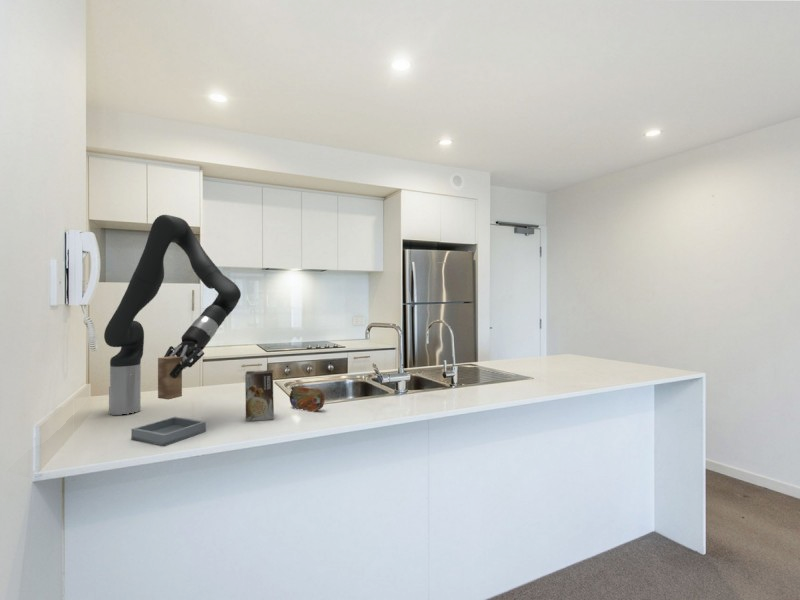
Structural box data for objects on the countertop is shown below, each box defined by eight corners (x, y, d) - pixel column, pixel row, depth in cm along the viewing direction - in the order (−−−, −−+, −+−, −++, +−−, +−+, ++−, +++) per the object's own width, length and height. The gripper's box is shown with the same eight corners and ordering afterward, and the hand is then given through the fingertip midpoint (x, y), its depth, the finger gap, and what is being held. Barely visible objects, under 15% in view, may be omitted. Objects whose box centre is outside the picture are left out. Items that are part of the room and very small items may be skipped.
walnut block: (157, 398, 122) (157, 358, 122) (171, 394, 127) (171, 356, 127) (168, 399, 121) (168, 358, 121) (181, 396, 125) (181, 356, 125)
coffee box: (274, 414, 146) (274, 369, 146) (273, 419, 140) (273, 372, 140) (246, 416, 143) (246, 370, 143) (244, 421, 137) (244, 374, 137)
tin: (288, 408, 155) (288, 385, 155) (294, 406, 158) (294, 384, 158) (320, 413, 148) (320, 389, 148) (325, 411, 151) (325, 388, 151)
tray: (131, 439, 120) (131, 429, 120) (174, 425, 133) (174, 416, 133) (164, 446, 114) (164, 435, 114) (205, 431, 127) (205, 421, 127)
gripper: (178, 324, 134) (141, 367, 123) (209, 325, 128) (174, 370, 117) (192, 339, 139) (158, 381, 128) (223, 341, 133) (191, 385, 122)
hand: (166, 375), depth 123 cm, fingers closed on walnut block, 4 cm apart
